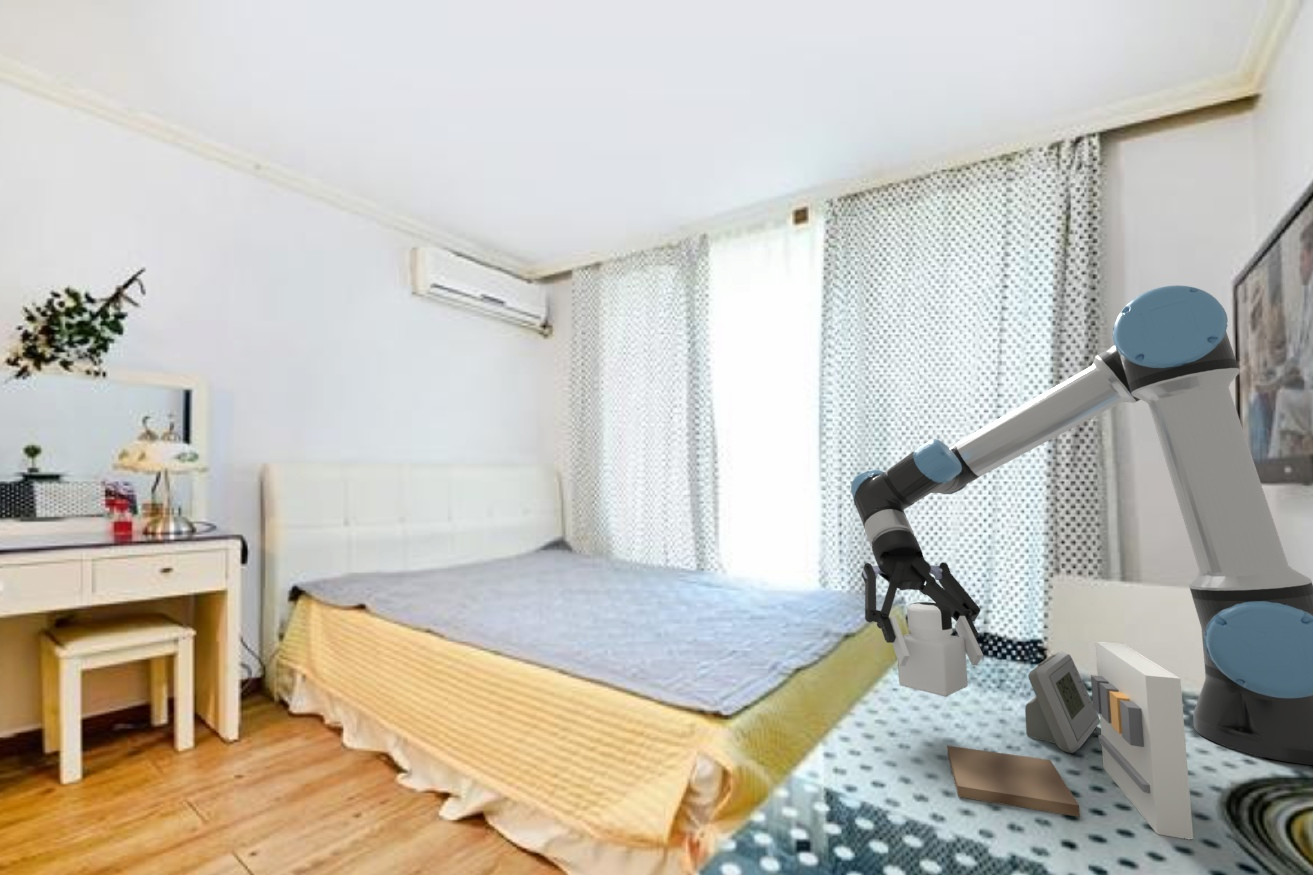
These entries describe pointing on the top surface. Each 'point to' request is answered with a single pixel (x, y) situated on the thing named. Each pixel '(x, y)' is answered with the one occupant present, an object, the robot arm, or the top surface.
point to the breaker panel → (1143, 736)
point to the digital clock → (1060, 704)
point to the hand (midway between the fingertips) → (941, 660)
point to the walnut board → (1010, 780)
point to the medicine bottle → (933, 651)
